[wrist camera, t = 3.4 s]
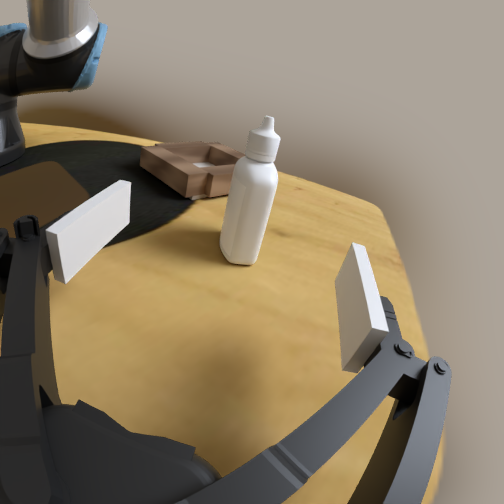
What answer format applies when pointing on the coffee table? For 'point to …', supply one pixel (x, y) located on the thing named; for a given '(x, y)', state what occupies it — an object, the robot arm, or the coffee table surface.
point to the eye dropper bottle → (250, 196)
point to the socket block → (192, 167)
